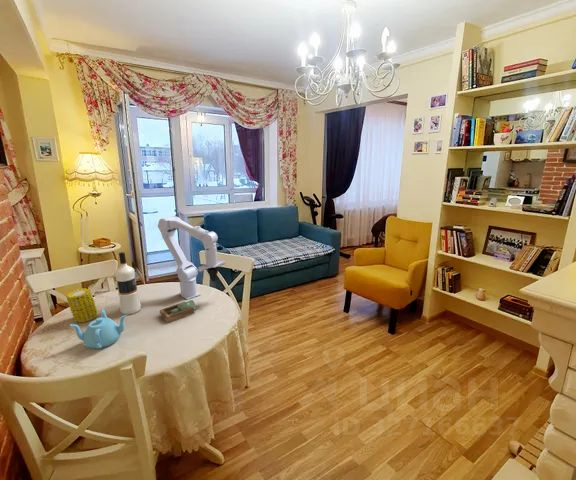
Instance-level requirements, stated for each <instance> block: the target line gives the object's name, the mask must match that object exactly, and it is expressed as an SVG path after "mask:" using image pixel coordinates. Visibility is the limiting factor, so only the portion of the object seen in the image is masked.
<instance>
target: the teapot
mask: <svg viewBox="0 0 576 480" xmlns="http://www.w3.org/2000/svg"><path fill="white" fill-rule="evenodd" d="M127 316H128V315H125V314H123V315H122V316H121V317H120V318H119V325H118V324H117V322H115V321H114V320H113V319H111V318H109V317H108V316H107V314H106V309H105V308H102V309H101V317H97V318H96V319H93V320H91V322H90V323H89V324H88V325H87V326H86V329H85V330H84V331H82V330H81V328H80V326H79V325H78V324H74V323H71V324H69V327H73V328H74V330H75V332H76V336H77V338H78V340H80V341H82V342H83V344H84V346H85V347H87V348H90V349H94V350H95V349H96V350H97V349H102V348H106V347H109V346H111V345H113V344H114V343H115V342H117V341H118V340H119V338H120V337H121V335H122V332H123V331H125V321H124V320H125V318H126V317H127Z"/></svg>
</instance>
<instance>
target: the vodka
mask: <svg viewBox="0 0 576 480" xmlns="http://www.w3.org/2000/svg"><path fill="white" fill-rule="evenodd" d="M118 258H119V264H120V266H119V267H118V268H116V270H115V271H114V276H115V280H116V286H117V290H118V298H119V305H120V306H119V312H120V314H122V315H127V316H128V315H133V314H136V313H138V312H139V311H141V309H142V304H141V301H140V299H139V290H138V287H137V280H136V273H135V272H136V271H135V268H134V267H132V266H130V265H128V264H127V258H126V252H124V251H121V252H118Z"/></svg>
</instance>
